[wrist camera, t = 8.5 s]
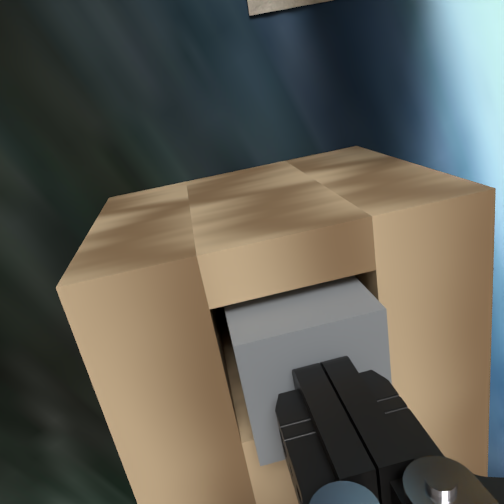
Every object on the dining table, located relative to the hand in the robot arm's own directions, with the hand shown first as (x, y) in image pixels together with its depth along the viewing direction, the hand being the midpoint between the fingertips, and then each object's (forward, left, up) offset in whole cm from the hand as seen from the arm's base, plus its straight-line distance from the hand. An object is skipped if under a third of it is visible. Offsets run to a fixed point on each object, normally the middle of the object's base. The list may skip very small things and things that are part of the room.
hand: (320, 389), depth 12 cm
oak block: (0, -5, -12) cm, 12 cm away
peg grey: (0, 0, -8) cm, 8 cm away
